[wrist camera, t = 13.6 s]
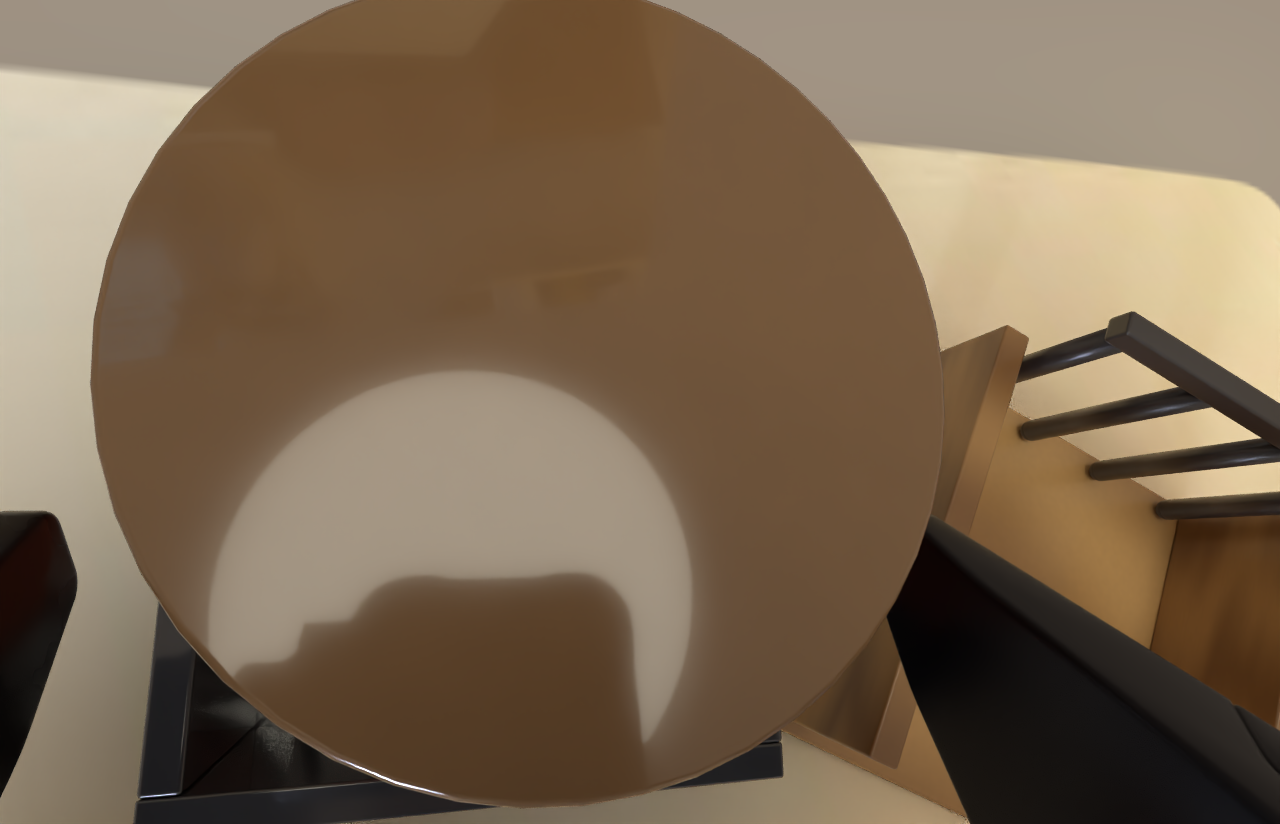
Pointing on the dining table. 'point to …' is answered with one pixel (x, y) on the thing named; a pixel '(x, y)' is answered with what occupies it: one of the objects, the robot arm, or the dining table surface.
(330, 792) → the black open box
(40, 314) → the dining table surface
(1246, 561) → the dish rack
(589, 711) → the canister
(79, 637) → the dining table surface
